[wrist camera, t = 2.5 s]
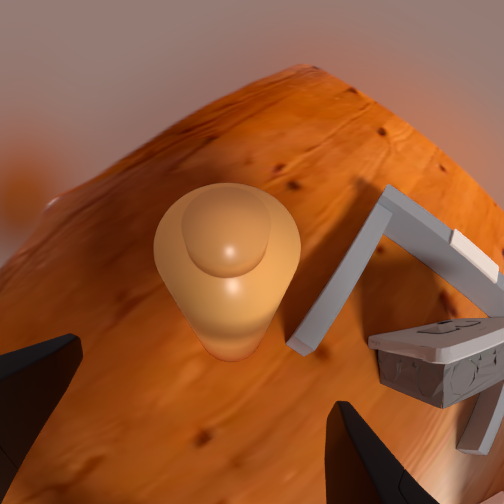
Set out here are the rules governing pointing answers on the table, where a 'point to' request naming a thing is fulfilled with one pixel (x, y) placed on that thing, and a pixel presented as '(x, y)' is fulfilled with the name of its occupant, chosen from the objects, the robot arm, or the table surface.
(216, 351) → the pin
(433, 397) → the electrical switch
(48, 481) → the table surface
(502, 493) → the jar
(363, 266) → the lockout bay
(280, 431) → the table surface
